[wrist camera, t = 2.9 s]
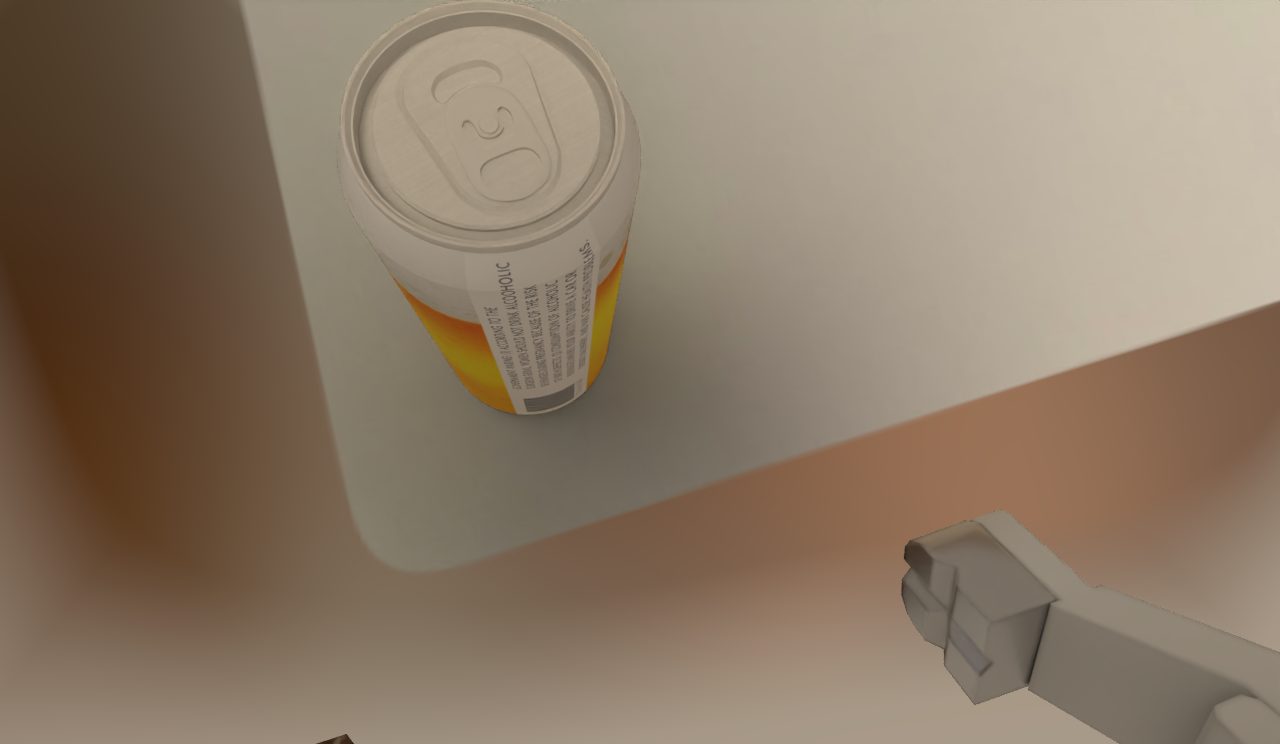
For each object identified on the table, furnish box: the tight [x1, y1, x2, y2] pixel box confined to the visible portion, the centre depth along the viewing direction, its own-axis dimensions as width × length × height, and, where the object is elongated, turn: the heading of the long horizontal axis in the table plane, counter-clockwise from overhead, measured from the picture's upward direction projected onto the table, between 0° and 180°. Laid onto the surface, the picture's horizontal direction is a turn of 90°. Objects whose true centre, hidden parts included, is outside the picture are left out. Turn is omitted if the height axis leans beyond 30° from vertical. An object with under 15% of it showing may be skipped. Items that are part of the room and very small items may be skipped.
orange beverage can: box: [337, 0, 641, 415], centre depth 20 cm, size 6×6×15 cm
